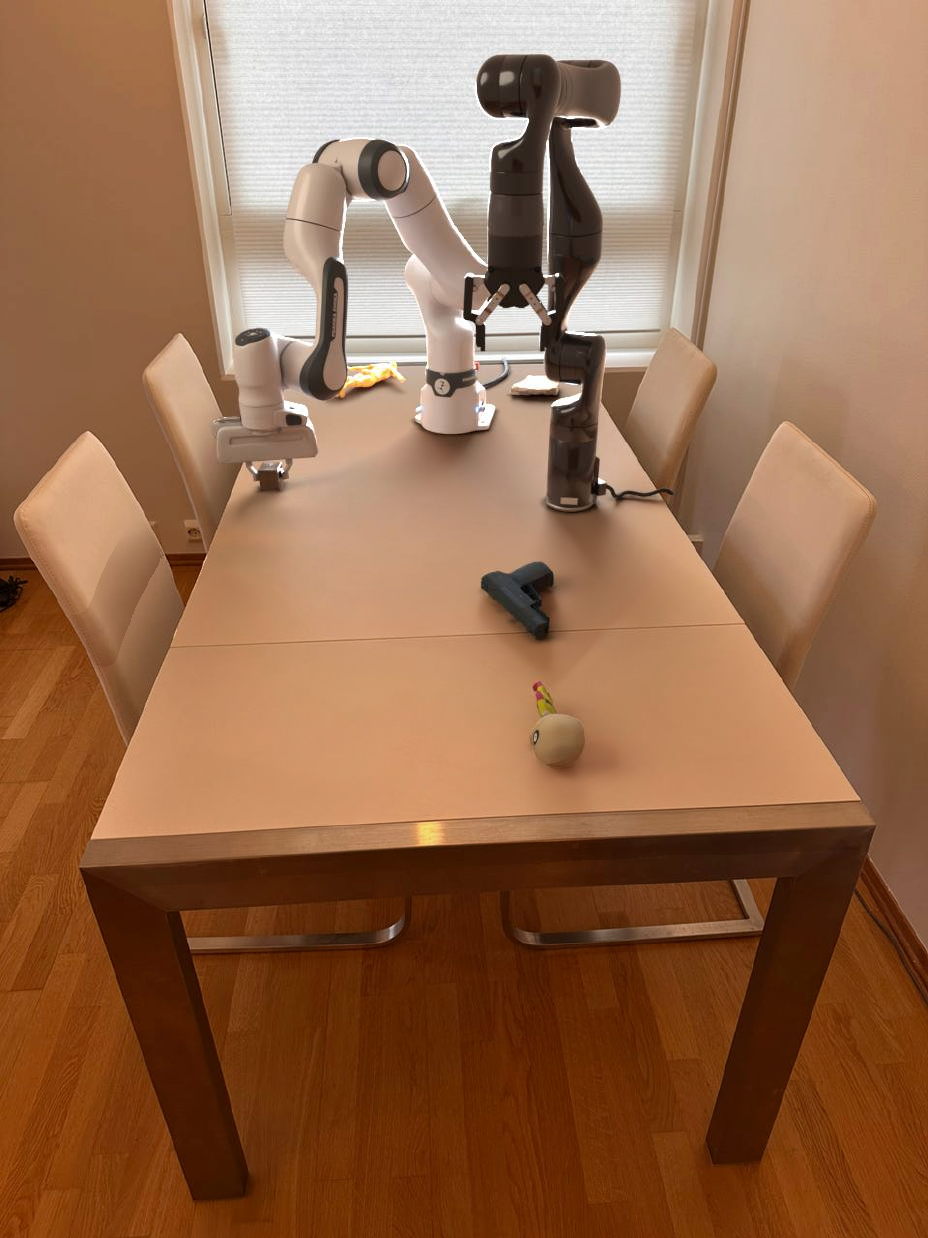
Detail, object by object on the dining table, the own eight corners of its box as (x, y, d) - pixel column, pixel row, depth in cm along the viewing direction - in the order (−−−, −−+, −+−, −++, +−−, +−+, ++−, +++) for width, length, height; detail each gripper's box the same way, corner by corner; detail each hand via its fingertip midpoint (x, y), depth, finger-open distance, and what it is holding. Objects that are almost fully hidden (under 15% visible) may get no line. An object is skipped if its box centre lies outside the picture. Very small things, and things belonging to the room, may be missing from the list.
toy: (510, 684, 120) (525, 756, 108) (557, 660, 119) (578, 730, 106) (530, 713, 123) (547, 787, 110) (577, 690, 122) (599, 762, 109)
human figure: (402, 372, 253) (401, 358, 251) (409, 392, 236) (408, 377, 234) (333, 377, 251) (331, 363, 249) (335, 398, 234) (333, 382, 232)
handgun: (595, 623, 140) (530, 643, 135) (537, 573, 153) (475, 590, 148) (597, 606, 138) (530, 625, 134) (538, 557, 151) (476, 573, 147)
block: (260, 491, 184) (257, 470, 181) (265, 482, 188) (262, 462, 185) (280, 491, 184) (277, 470, 181) (284, 482, 187) (281, 462, 185)
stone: (553, 399, 232) (554, 389, 231) (509, 395, 235) (509, 385, 234) (564, 385, 243) (564, 375, 241) (521, 381, 246) (522, 372, 244)
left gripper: (208, 423, 173) (219, 489, 181) (314, 416, 176) (321, 481, 184) (210, 412, 179) (221, 476, 186) (313, 406, 182) (319, 469, 189)
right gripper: (462, 233, 117) (462, 357, 126) (570, 233, 117) (563, 357, 126) (463, 224, 124) (463, 343, 132) (566, 224, 123) (559, 343, 132)
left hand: (271, 479), depth 185 cm, fingers closed on block, 4 cm apart
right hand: (512, 350), depth 129 cm, fingers open, 8 cm apart
